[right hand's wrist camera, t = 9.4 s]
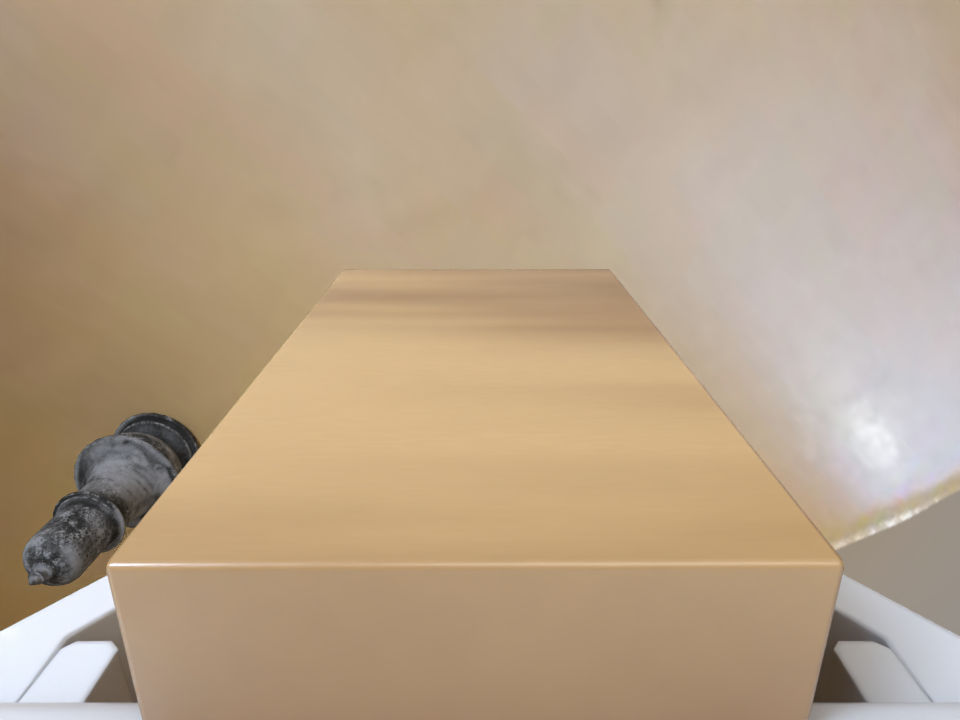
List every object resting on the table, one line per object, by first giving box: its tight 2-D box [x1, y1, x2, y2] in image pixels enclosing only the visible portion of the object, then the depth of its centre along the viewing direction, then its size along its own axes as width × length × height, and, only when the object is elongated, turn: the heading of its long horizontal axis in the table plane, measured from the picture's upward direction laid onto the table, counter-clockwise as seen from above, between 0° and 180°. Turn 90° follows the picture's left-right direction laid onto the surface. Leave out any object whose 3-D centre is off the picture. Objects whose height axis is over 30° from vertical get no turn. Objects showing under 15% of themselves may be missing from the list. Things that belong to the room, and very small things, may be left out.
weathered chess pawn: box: [23, 413, 199, 586], centre depth 35 cm, size 6×6×12 cm
